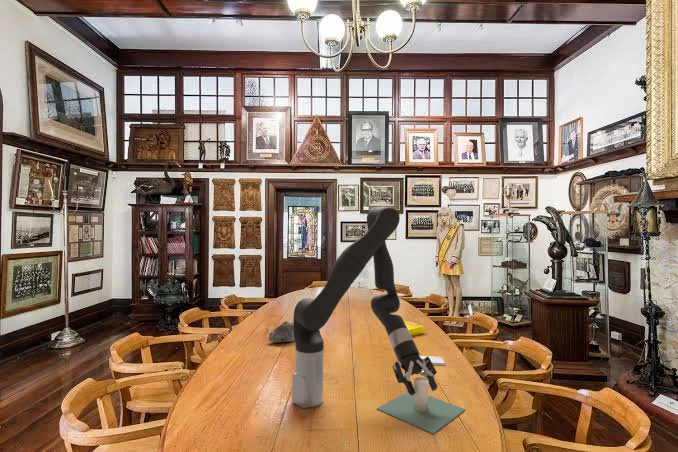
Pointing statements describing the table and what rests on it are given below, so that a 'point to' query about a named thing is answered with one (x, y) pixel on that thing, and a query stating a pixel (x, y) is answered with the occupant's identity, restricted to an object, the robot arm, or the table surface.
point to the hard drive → (434, 360)
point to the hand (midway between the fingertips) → (424, 392)
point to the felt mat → (427, 421)
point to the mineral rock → (283, 333)
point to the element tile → (414, 328)
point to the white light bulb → (421, 394)
